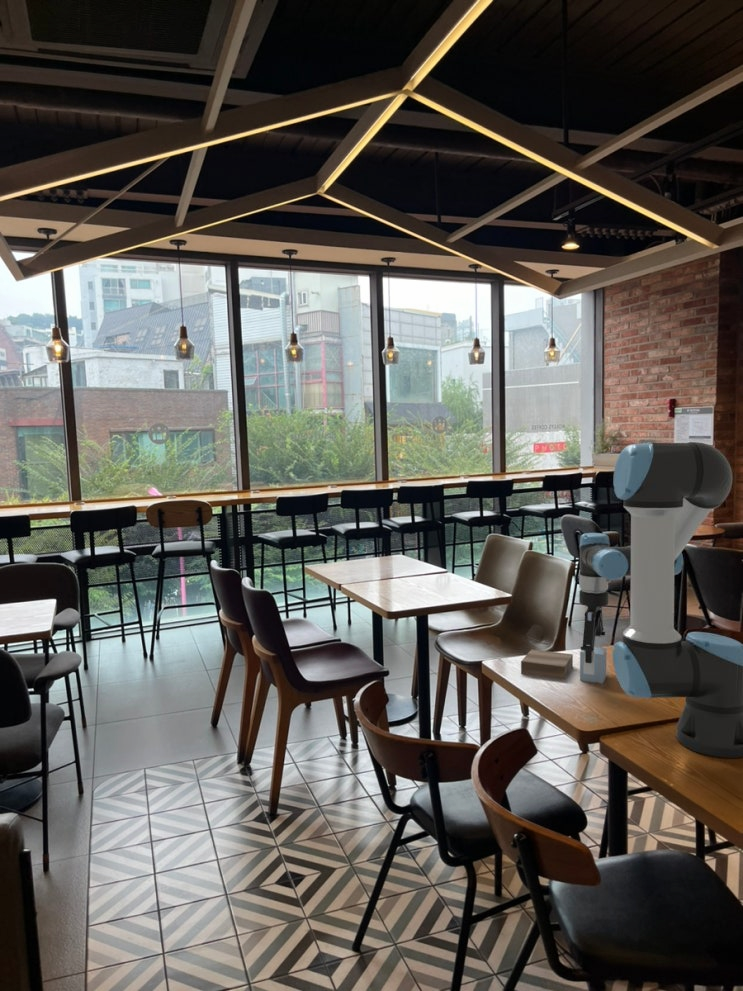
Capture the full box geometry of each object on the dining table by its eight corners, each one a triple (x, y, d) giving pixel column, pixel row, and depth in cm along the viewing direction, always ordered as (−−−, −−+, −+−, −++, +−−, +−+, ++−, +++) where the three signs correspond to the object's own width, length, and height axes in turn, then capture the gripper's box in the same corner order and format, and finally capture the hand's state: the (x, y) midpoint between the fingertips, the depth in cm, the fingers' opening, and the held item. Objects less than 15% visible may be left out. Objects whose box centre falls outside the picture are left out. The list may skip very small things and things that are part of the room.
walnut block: (564, 681, 190) (564, 666, 189) (521, 675, 195) (521, 661, 195) (572, 667, 200) (572, 654, 200) (531, 662, 206) (531, 649, 205)
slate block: (603, 683, 186) (603, 654, 185) (580, 680, 189) (580, 651, 188) (606, 676, 191) (606, 648, 191) (583, 673, 194) (584, 645, 193)
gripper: (601, 601, 175) (600, 682, 177) (614, 581, 198) (613, 654, 200) (571, 599, 179) (570, 678, 181) (587, 579, 201) (586, 650, 203)
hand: (592, 665), depth 190 cm, fingers open, 13 cm apart
